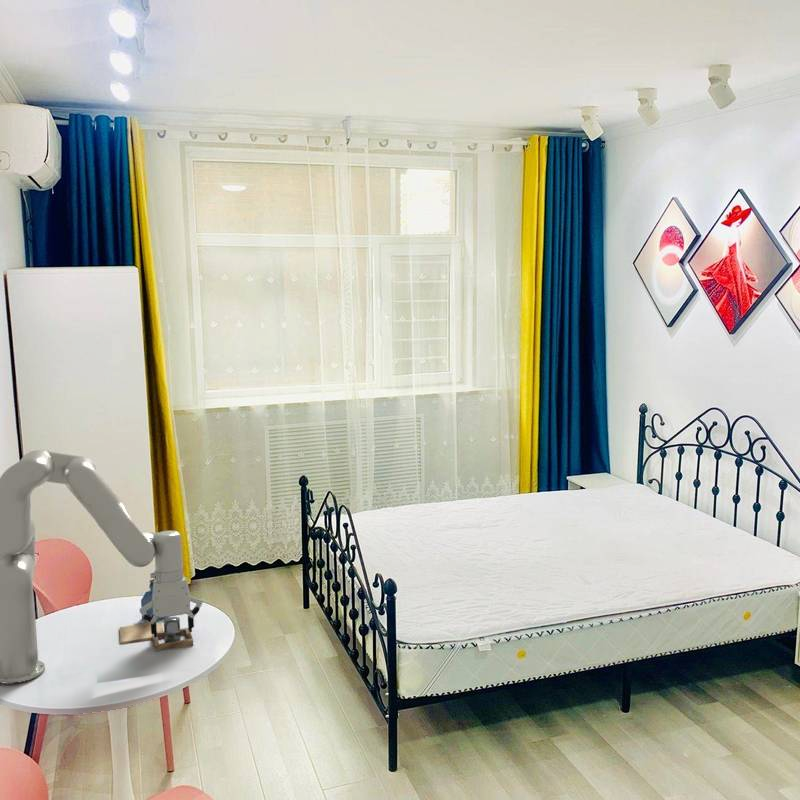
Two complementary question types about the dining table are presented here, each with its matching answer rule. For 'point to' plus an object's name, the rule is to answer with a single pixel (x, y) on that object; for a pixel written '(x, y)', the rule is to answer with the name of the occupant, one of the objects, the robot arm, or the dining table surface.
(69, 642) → the dining table surface
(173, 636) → the peg
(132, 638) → the mat
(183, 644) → the collar
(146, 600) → the perfume bottle
